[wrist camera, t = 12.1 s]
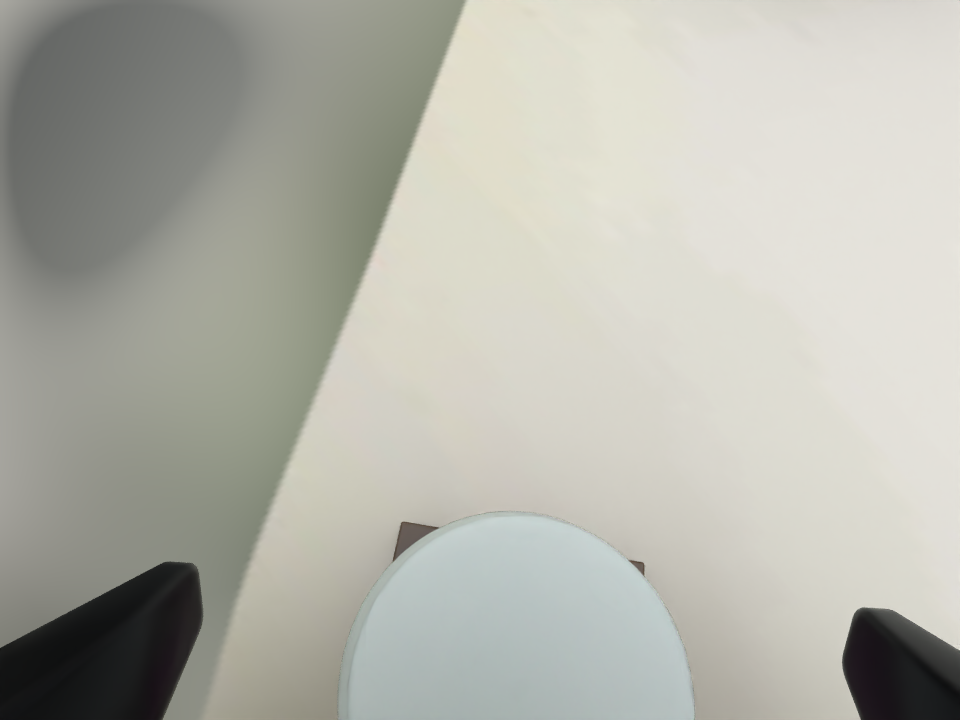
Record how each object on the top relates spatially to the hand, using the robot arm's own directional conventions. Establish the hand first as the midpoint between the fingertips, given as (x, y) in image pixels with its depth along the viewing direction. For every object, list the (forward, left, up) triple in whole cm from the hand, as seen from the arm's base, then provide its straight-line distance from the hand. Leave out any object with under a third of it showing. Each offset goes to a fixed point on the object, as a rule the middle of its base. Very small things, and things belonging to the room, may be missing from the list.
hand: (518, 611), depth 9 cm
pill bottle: (-1, -1, -8) cm, 9 cm away
